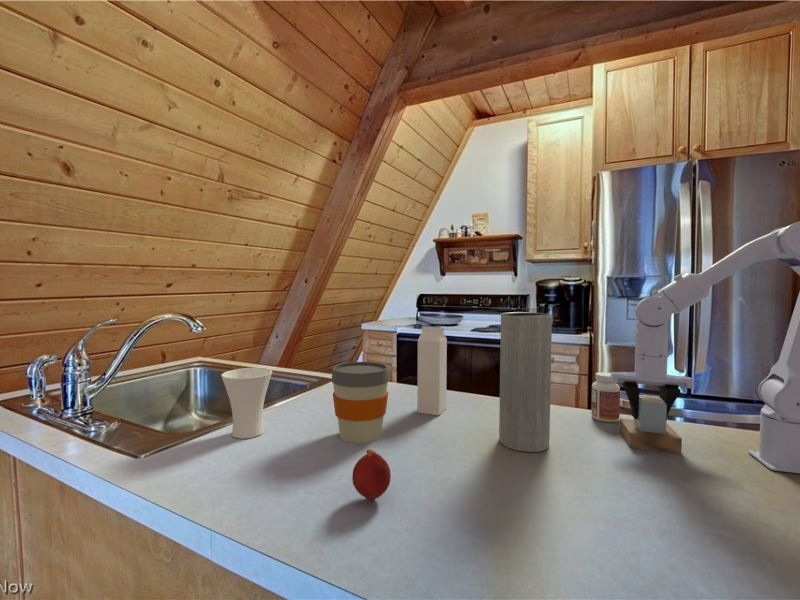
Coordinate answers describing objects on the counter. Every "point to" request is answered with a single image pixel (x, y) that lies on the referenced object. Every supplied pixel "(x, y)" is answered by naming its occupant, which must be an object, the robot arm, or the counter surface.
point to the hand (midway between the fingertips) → (649, 418)
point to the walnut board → (650, 438)
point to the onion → (371, 475)
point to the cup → (247, 399)
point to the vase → (525, 381)
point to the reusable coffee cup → (360, 400)
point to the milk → (432, 371)
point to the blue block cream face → (651, 414)
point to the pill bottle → (605, 398)
